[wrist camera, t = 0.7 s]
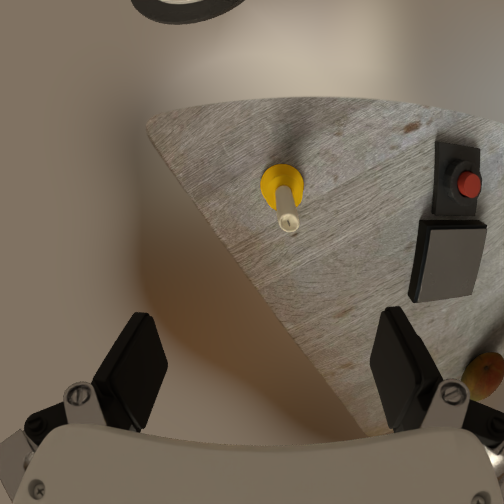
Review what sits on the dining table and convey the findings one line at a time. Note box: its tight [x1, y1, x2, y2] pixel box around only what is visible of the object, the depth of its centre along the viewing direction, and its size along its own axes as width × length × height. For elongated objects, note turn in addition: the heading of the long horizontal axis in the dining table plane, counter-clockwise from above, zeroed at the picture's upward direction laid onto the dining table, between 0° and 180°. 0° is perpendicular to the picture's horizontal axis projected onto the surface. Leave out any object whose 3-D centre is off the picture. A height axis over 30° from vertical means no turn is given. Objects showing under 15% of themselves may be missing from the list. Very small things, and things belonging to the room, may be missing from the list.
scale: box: [408, 220, 487, 303], centre depth 34 cm, size 12×12×3 cm
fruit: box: [461, 352, 504, 401], centre depth 41 cm, size 12×12×10 cm
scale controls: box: [432, 142, 482, 216], centre depth 30 cm, size 10×8×3 cm
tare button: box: [457, 172, 481, 198], centre depth 28 cm, size 3×3×2 cm
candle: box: [260, 164, 304, 232], centre depth 27 cm, size 5×5×16 cm
